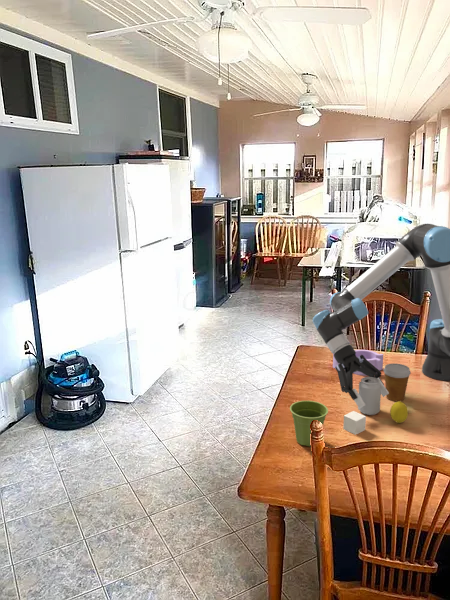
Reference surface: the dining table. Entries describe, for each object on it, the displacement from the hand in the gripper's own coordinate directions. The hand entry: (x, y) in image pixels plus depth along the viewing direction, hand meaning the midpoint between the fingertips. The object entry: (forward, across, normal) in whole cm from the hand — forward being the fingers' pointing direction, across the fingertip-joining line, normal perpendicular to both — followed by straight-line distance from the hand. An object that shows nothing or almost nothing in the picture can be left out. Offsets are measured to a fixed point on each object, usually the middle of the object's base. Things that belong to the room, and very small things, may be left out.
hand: (374, 401), depth 173 cm
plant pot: (+2, +31, -5) cm, 31 cm away
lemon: (+10, 0, +3) cm, 11 cm away
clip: (-17, -28, -24) cm, 41 cm away
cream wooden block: (+5, +14, -2) cm, 15 cm away
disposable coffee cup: (+2, -16, -5) cm, 17 cm away
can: (+2, 0, -5) cm, 5 cm away
